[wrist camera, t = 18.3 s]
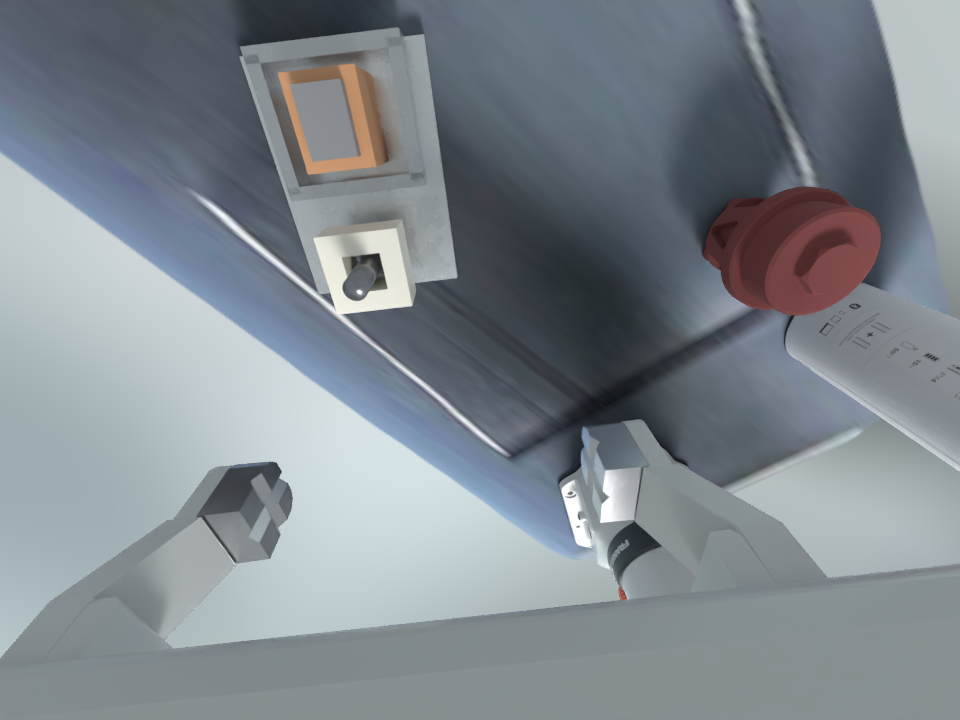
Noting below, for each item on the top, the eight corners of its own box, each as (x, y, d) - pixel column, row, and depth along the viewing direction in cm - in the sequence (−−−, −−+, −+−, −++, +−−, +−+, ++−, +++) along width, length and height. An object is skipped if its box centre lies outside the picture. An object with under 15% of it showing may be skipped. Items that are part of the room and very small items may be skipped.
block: (371, 75, 30) (350, 60, 24) (389, 161, 33) (373, 167, 27) (308, 82, 30) (270, 70, 24) (331, 168, 33) (303, 176, 27)
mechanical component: (683, 291, 42) (679, 197, 37) (778, 263, 41) (788, 162, 36) (759, 345, 31) (769, 224, 26) (891, 309, 30) (927, 175, 25)
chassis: (457, 274, 40) (457, 321, 30) (322, 289, 40) (277, 342, 30) (425, 37, 30) (408, -10, 20) (246, 59, 30) (142, 23, 20)
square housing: (416, 290, 36) (412, 305, 33) (347, 298, 36) (337, 314, 33) (402, 218, 32) (396, 228, 29) (326, 227, 33) (313, 237, 29)
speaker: (800, 377, 49) (1093, 586, 26) (766, 325, 45) (1078, 520, 22) (889, 321, 45) (1313, 508, 23) (860, 260, 41) (1342, 414, 19)
